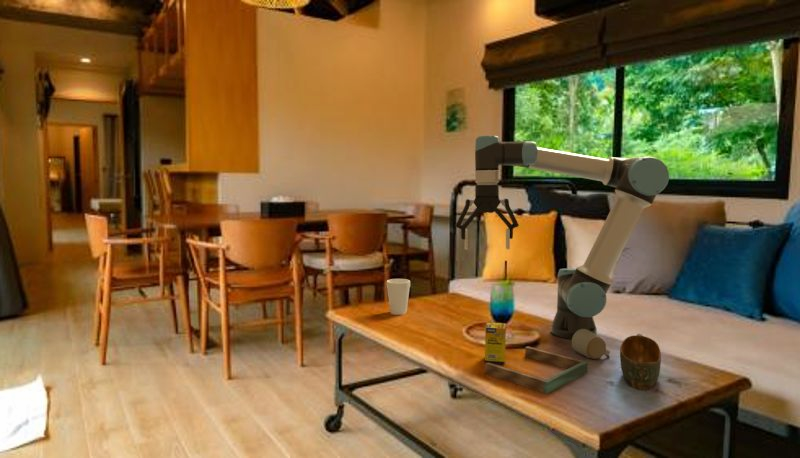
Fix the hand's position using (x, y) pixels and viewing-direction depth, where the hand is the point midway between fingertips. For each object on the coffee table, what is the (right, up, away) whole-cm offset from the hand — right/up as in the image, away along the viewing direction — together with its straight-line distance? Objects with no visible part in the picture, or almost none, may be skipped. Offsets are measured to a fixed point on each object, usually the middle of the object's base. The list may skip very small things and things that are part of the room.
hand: (486, 249), depth 179 cm
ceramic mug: (+31, -33, -10) cm, 46 cm away
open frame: (+9, -34, -24) cm, 43 cm away
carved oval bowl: (+37, -35, -29) cm, 59 cm away
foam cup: (-29, -27, +41) cm, 58 cm away
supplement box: (0, -33, -15) cm, 36 cm away
